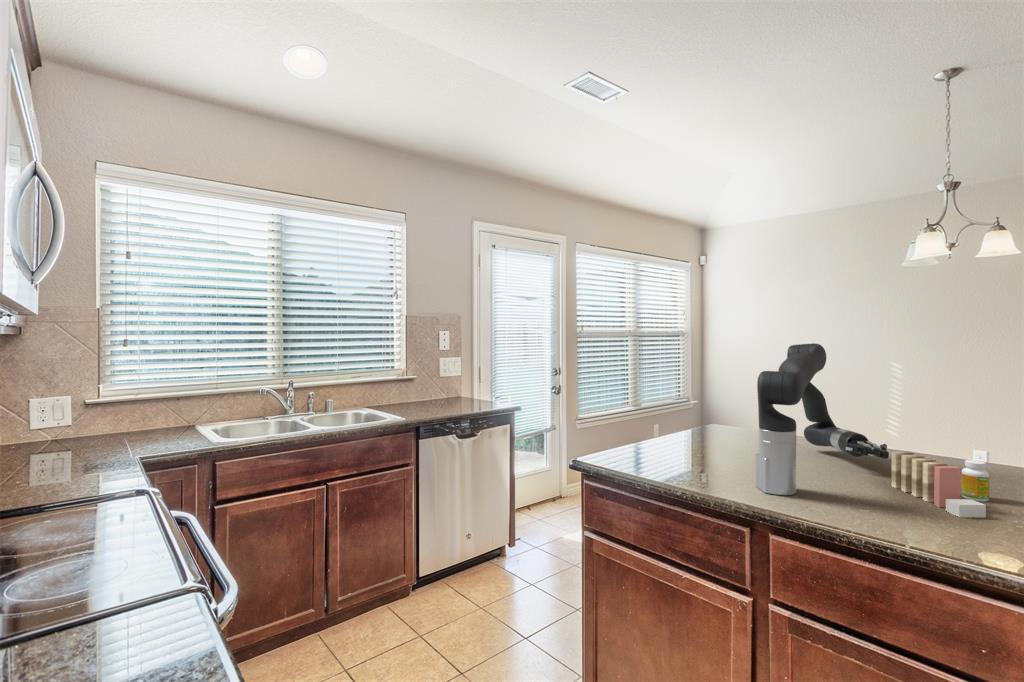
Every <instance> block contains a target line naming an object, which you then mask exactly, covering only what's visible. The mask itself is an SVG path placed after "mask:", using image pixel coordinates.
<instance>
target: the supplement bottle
mask: <svg viewBox="0 0 1024 682" xmlns="http://www.w3.org/2000/svg"><path fill="white" fill-rule="evenodd" d="M986 464H987V463H986V462H985V461H981V460H975V459H966V460H964V466H965V467H963V468H962V469H961V471H960V497H962V498H963V497H964V498H963V499H972V500H974V501H977V502H980V503H982V502H988V501H989V500H990V473H989V472H988V471H987V470H986V466H987V465H986Z"/></svg>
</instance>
